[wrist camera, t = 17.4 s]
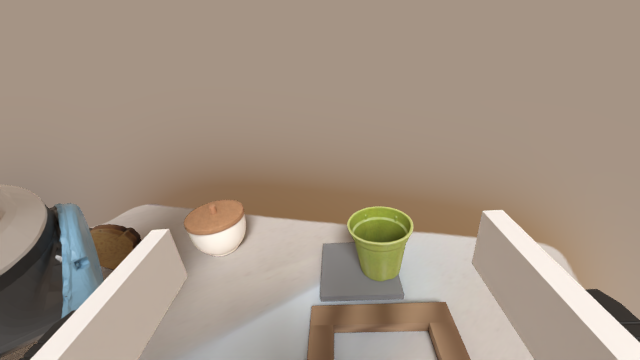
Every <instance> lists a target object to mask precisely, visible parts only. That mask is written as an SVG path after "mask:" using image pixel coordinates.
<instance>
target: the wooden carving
mask: <svg viewBox="0 0 640 360" xmlns="http://www.w3.org/2000/svg"><path fill="white" fill-rule="evenodd" d="M89 230H90V233H91V236H92V239H93V242H94V245H95V248H96V251H97V255H98V258H99V262H100V266H102V267H106V268H109V269H113V270H115V269H116V268H117V267H118V266H119V265H120V263H121V262H122V261H123V260H124V259H125V258H126V257H127V256H128V255H129V254H130V253H131V252H132V251H133V250H134V249H135V248H136V246H137V245H138V244H139V243H140V242H141V241H142V240H141V239H140V235H139V233H137V232H136V231H135V230H134V229H133V228H125V227H123V226H119V225H111V224H108V225H99V226H96V227H94V228H89Z"/></svg>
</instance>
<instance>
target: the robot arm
mask: <svg viewBox="0 0 640 360" xmlns="http://www.w3.org/2000/svg"><path fill="white" fill-rule="evenodd" d="M472 264H473V266H474V267H475V269H476V270H477V272H478V273H479V275H480V276H481V278H482V279H483V281H484V283H485V284H486V286H487V287H488V289H489V290H490V292H491V293H492V295H493V296H494V298H495V300H496V301H497V303H498V304H499V306H500V307H501V309H502V310H503V312H504V313H505V315H506V316H507V318H508V320H509V321H510V323H511V324H512V326H513V327H514V329H515V330H516V332H517V333H518V335H519V336H520V338H521V340H522V341H523V343H524V344H525V346H526V347H527V349H528V350H529V352H530V353H531V355H532V356H533V358H534V360H640V320H639V319H638V318H636V317H635V316H634V315H633V314H632V313H631V312H630V311H629V310H628V309H626V308H625V307H624V306H623V305H622V304H621V303H619V302H617V301H616V300H614V299H613V298H611V297H609V296H608V295H606V294H604V293H603V292H601V291H599V290H598V289H590V290H585V289H584V288H583V287H582V286H581V285H580V284H579V283H577V282H576V281H575V280H574V279H573V278H572V277H571V276H570V275H569V274H568V273H567V272H566V271H565V270H564V269H563V268H562V267H561V266H560V265H559V264H558V263H557V262H556V261H555V260H554V259H553V258H552V257H551V256H549V255H548V254H547V253H546V252H545V251H544V250H543V249H542V248H541V247H540V246H539V245H538V244H537V243H536V242H535V241H534V240H533V239H532V238H531V237H530V236H529V235H528V234H527V233H526V232H525V231H523V229H522V228H520V227H519V226H518V225H517V224H516V223H515V222H514V221H513V220H512V219H511V218H510V217H509V216H508V215H507V214H506V213H505V212H504V211H503V210H492V211H482V216H481V221H480V226H479V231H478V236H477V240H476V245H475V250H474V255H473V260H472ZM187 277H188V275H187V272H186V270H185V267H184V265H183V262H182V260H181V257H180V255H179V252H178V250H177V248H176V245H175V243H174V240H173V238H172V235H171V233H170V230H169V229H159V230H152V231H151V232H150V233H149V234H148V235H147V236H146V237H145V238H144V239H143V240H142V241H141V242H140V243H139V244H138V245H137V246H136V248H135V249H134V250H133V251H132V252H131V253H130V254H129V255H128V256H127V257H126V258H125V259H124V260H123V261H122V262H121V263H120V265H119V266H118V267H117V268H116V269H115V270H114V271H113V272H112V273H111V274H110V275H109V276H108V277H107V278H106V279H105V281H104V280H103V274H102V270H101V266H100V262H99V258H98V255H97V251H96V248H95V245H94V242H93V239H92V236H91V233H90V230H89V227H88V224H87V222H86V220H85V217H84V215H83V213H82V211H81V210H80V208H79V207H78V206H77V205H75V204H71V203H68V204H57V205H54V207H53V208H48V207H47V206H46V205H45V204H44V203H43V201H42V200H41V199H40V198H39V197H38V196H37V195H36V194H34V193H33V192H31V191H29V190H26V189H24V188H20V187H16V186H11V185H0V358H1V357H4V356H6V355H8V354H10V353H12V352H14V351H17V350H19V349H21V348H23V347H25V346H28V345H30V344H32V343H34V342H36V341H38V343H37V344H34V345H33V346H32V347H31V348H30V349H29V350H28V351H27V352H26V353H25V354H24V358H21V359H20V360H138V359H139V357H140V355H141V354H142V352H143V350H144V349H145V347H146V345H147V344H148V342H149V340H150V339H151V337H152V335H153V334H154V332H155V330H156V329H157V327H158V325H159V324H160V322H161V320H162V319H163V317H164V315H165V314H166V312H167V310H168V309H169V307H170V305H171V304H172V302H173V300H174V299H175V297H176V295H177V294H178V292H179V290H180V289H181V287H182V285H183V284H184V282H185V280H186V279H187Z"/></svg>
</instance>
